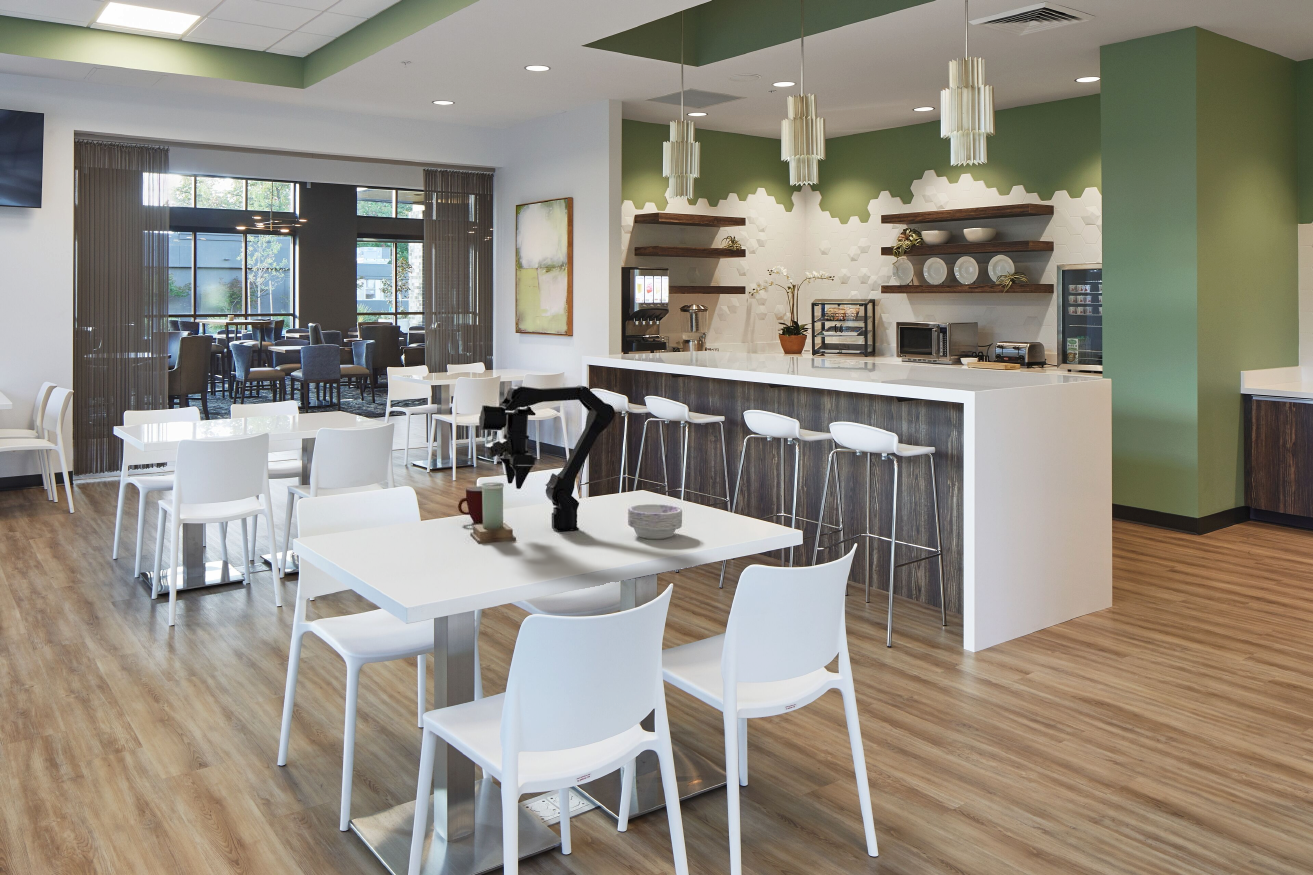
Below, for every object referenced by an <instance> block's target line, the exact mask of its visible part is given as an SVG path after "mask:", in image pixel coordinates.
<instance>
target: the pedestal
mask: <svg viewBox="0 0 1313 875" xmlns="http://www.w3.org/2000/svg"><path fill="white" fill-rule="evenodd" d="M472 528H473V529H472V531H471V532H470V537H471V538H472V539H473V540H474V541H475V542H476V543H477V544H487V543H489V544H490V543H501V542H513V541H517V537H516V536H515V535H514V532H513V531H514V529H513V528H512V527H511V526H510V525H508V524H507V522H503V528H500V529H484V528H483V523H481V524H473V525H472Z"/></svg>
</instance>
